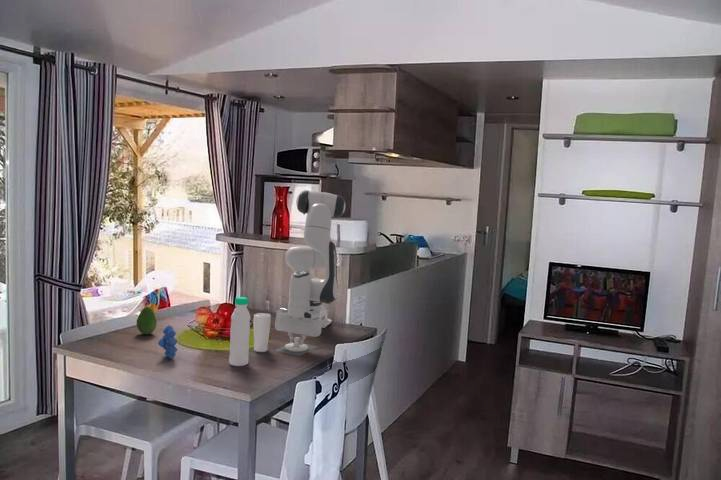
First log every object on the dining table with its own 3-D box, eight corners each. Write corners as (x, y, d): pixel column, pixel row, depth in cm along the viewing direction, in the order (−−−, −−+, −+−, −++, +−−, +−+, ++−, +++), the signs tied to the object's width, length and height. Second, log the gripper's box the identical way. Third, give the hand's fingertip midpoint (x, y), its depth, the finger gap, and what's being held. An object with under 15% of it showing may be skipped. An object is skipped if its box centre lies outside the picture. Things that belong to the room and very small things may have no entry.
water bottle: (230, 367, 200) (234, 299, 198) (227, 361, 206) (230, 295, 204) (250, 366, 202) (253, 299, 200) (246, 360, 209) (249, 295, 207)
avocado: (156, 331, 240) (157, 304, 239) (155, 336, 233) (156, 308, 232) (136, 332, 237) (137, 304, 236) (135, 336, 230) (136, 308, 229)
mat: (293, 343, 236) (293, 341, 236) (318, 347, 232) (318, 346, 232) (273, 352, 222) (273, 350, 222) (299, 357, 217) (299, 355, 217)
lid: (292, 343, 233) (292, 333, 233) (312, 347, 229) (312, 337, 229) (280, 349, 224) (281, 338, 224) (301, 353, 220) (301, 342, 220)
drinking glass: (265, 354, 218) (267, 317, 216) (249, 352, 219) (251, 315, 218) (271, 350, 224) (273, 314, 223) (255, 348, 226) (257, 312, 224)
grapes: (153, 354, 208) (154, 323, 207) (171, 352, 212) (172, 322, 211) (161, 363, 199) (162, 330, 198) (180, 361, 203) (181, 329, 202)
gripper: (272, 308, 226) (271, 341, 228) (317, 315, 219) (314, 349, 220) (280, 306, 232) (278, 338, 233) (324, 313, 225) (321, 346, 226)
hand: (296, 343), depth 227 cm, fingers closed on lid, 3 cm apart
